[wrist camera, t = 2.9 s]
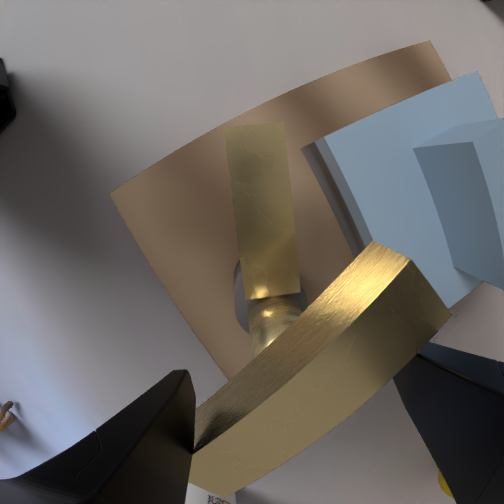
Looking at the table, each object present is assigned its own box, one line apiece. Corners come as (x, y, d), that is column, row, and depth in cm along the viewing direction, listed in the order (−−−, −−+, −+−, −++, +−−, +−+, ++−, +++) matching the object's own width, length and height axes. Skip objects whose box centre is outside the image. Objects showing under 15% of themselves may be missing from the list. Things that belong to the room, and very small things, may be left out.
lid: (395, 324, 15) (452, 379, 10) (314, 141, 13) (364, 119, 8) (513, 234, 15) (577, 254, 9) (461, 77, 12) (529, 54, 7)
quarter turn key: (358, 362, 13) (418, 456, 7) (196, 387, 13) (181, 498, 7) (348, 123, 11) (443, 82, 5) (151, 143, 11) (73, 111, 5)
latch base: (251, 401, 20) (257, 459, 15) (115, 193, 17) (70, 200, 11) (499, 247, 19) (548, 264, 14) (422, 45, 15) (469, 17, 10)
